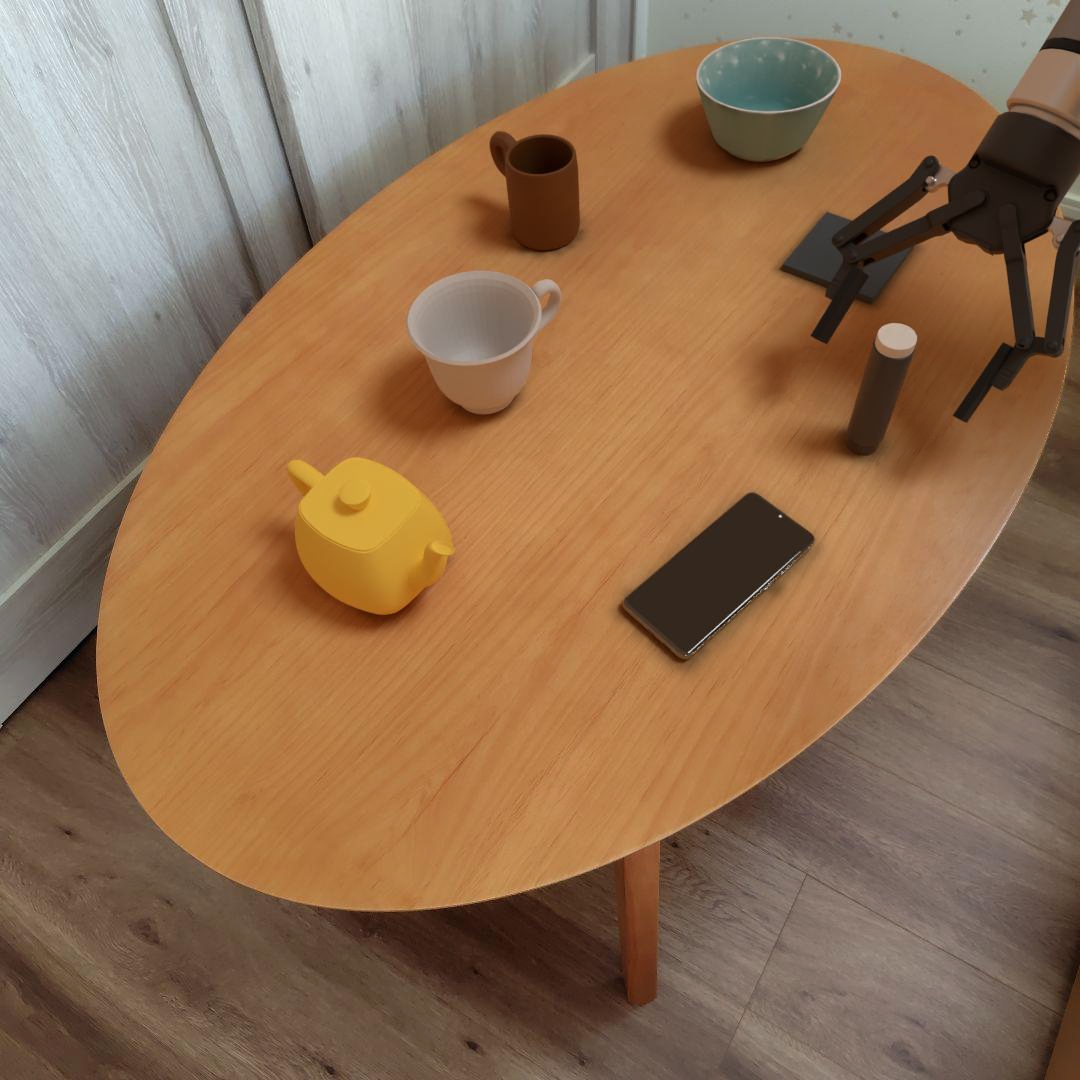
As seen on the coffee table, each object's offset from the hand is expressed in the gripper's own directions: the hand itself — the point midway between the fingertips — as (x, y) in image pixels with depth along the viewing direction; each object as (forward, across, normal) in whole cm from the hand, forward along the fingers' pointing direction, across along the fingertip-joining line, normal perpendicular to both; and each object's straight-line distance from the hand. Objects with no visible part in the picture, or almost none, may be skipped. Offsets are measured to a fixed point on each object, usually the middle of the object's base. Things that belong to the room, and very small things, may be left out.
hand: (886, 378), depth 79 cm
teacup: (+18, +30, +7) cm, 35 cm away
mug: (+4, +45, -7) cm, 46 cm away
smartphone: (+20, 0, +9) cm, 22 cm away
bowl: (-16, +35, -27) cm, 47 cm away
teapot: (+33, +21, +22) cm, 45 cm away
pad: (-8, +15, -19) cm, 25 cm away
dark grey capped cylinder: (+6, 0, -5) cm, 8 cm away
